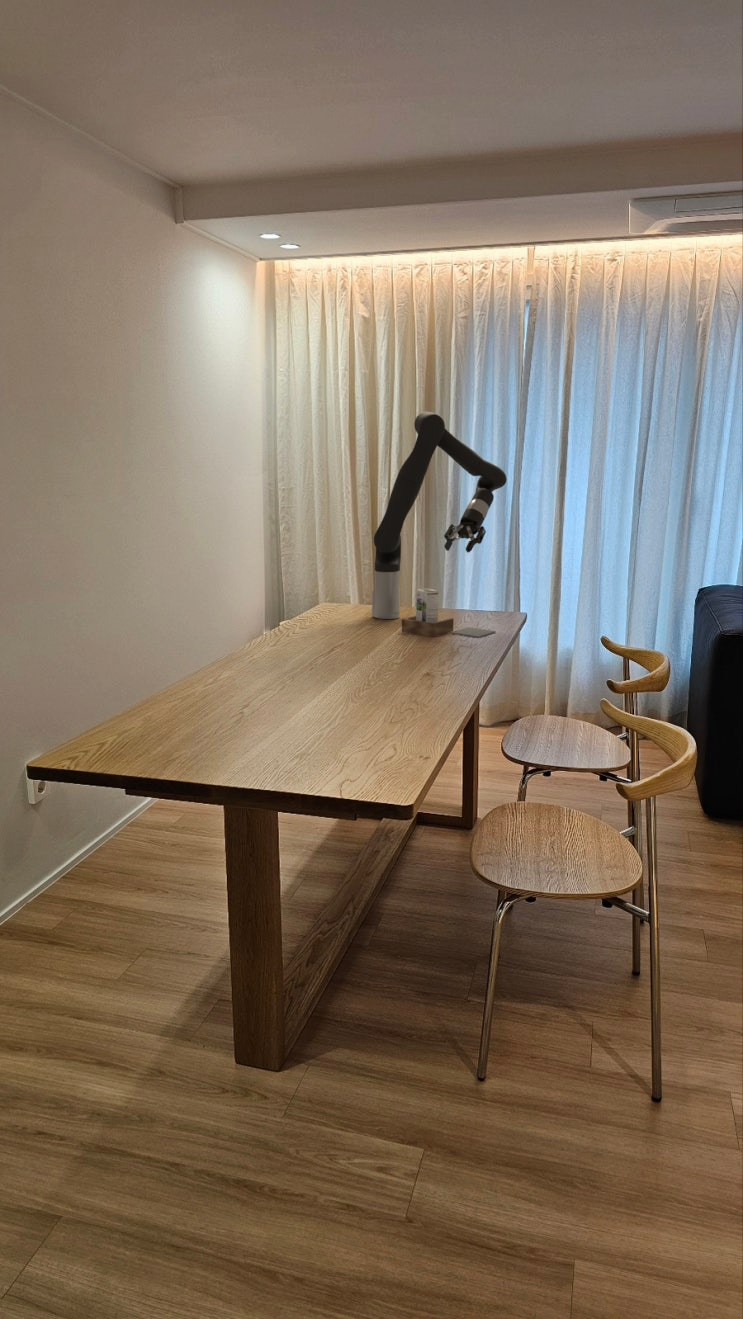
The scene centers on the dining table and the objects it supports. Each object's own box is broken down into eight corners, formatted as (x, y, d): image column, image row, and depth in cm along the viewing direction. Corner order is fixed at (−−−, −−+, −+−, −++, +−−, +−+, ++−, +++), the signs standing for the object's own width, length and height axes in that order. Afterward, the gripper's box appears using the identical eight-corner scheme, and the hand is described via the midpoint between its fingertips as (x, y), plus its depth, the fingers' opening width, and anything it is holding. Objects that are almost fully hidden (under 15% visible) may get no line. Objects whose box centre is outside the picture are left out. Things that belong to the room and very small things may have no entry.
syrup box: (415, 631, 315) (415, 589, 312) (430, 629, 318) (431, 587, 314) (422, 634, 310) (423, 591, 307) (438, 632, 313) (439, 590, 309)
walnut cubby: (401, 632, 314) (401, 619, 313) (421, 626, 323) (421, 613, 322) (433, 637, 306) (433, 623, 305) (453, 631, 315) (453, 618, 314)
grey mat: (450, 633, 311) (450, 632, 311) (467, 628, 320) (467, 627, 320) (478, 638, 305) (478, 636, 304) (495, 632, 313) (495, 631, 313)
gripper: (454, 506, 330) (435, 541, 323) (488, 508, 321) (470, 544, 315) (461, 520, 335) (443, 555, 329) (495, 522, 326) (478, 558, 320)
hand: (456, 550), depth 322 cm, fingers open, 8 cm apart
